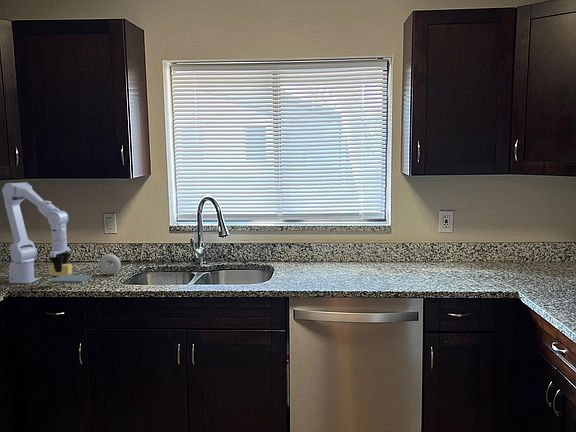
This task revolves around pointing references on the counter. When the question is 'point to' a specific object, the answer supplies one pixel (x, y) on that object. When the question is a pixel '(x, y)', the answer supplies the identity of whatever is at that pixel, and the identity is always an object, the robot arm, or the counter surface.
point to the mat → (71, 279)
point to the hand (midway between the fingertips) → (60, 270)
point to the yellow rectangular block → (65, 270)
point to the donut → (114, 260)
